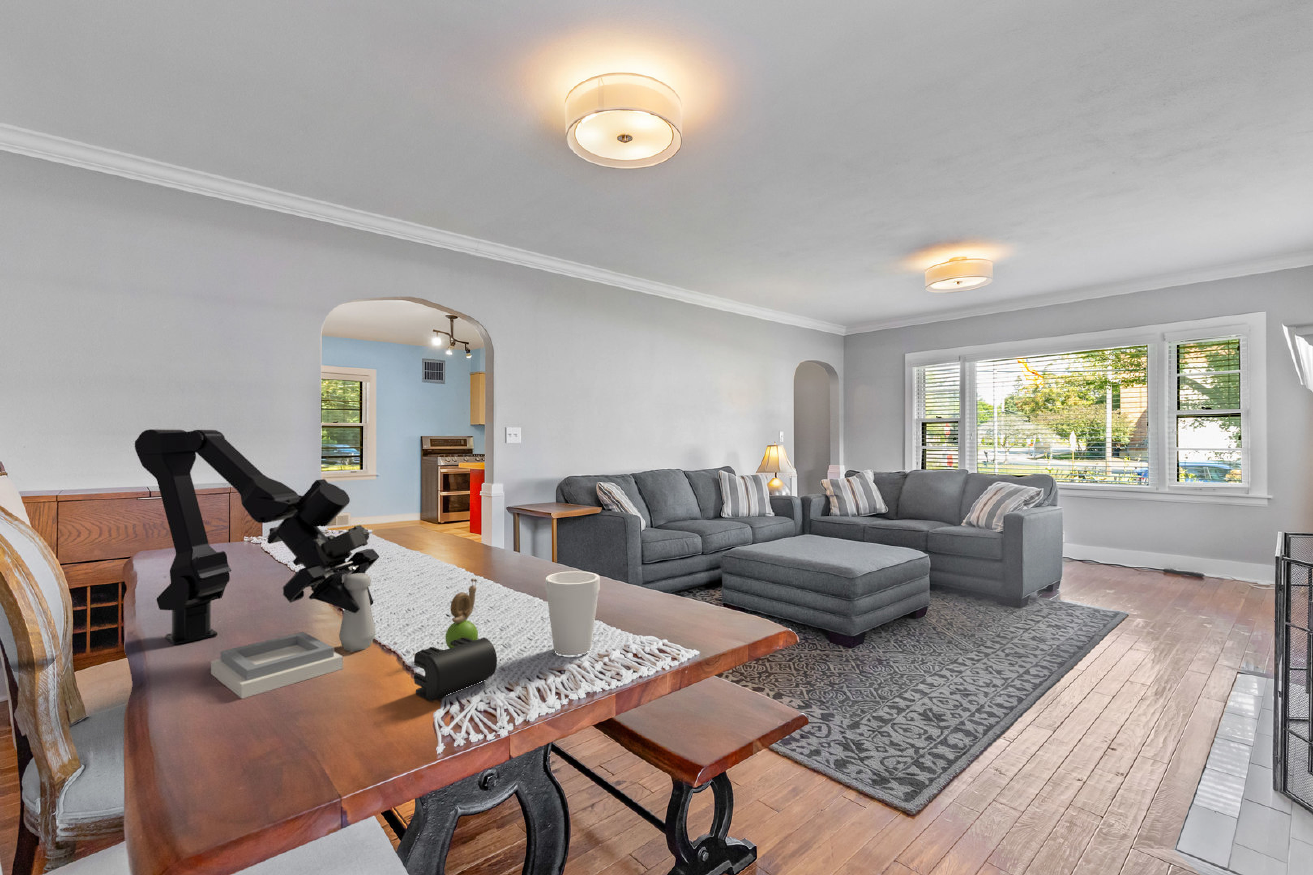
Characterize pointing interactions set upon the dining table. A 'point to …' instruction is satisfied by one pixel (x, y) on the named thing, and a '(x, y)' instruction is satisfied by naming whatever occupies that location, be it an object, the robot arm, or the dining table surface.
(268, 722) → the dining table surface
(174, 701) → the dining table surface
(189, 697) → the dining table surface
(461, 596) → the snail figurine
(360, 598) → the salt shaker
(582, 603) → the foam cup
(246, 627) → the dining table surface
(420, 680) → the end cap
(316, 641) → the display plinth
